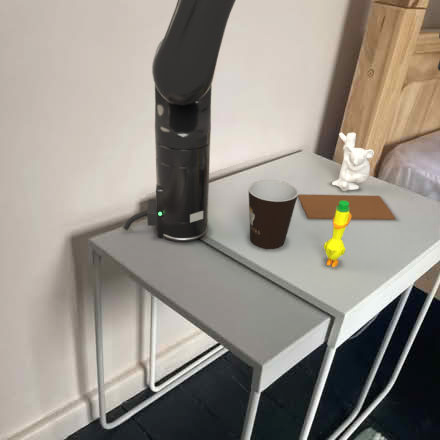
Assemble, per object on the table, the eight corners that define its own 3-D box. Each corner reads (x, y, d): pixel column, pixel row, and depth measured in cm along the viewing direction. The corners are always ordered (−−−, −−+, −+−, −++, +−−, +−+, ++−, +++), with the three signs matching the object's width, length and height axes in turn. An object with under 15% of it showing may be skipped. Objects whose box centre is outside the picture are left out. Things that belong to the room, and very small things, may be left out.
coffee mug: (288, 255, 88) (296, 204, 82) (240, 248, 89) (244, 197, 83) (293, 224, 97) (301, 176, 91) (250, 218, 98) (254, 171, 92)
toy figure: (328, 251, 89) (341, 190, 82) (348, 257, 88) (362, 195, 81) (316, 269, 85) (328, 205, 77) (336, 275, 83) (351, 211, 76)
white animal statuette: (322, 185, 113) (332, 132, 106) (340, 177, 116) (350, 126, 109) (354, 198, 108) (366, 144, 101) (371, 190, 112) (384, 137, 105)
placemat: (307, 218, 99) (308, 216, 99) (298, 196, 107) (298, 194, 107) (394, 219, 101) (395, 217, 100) (378, 197, 109) (379, 195, 108)
